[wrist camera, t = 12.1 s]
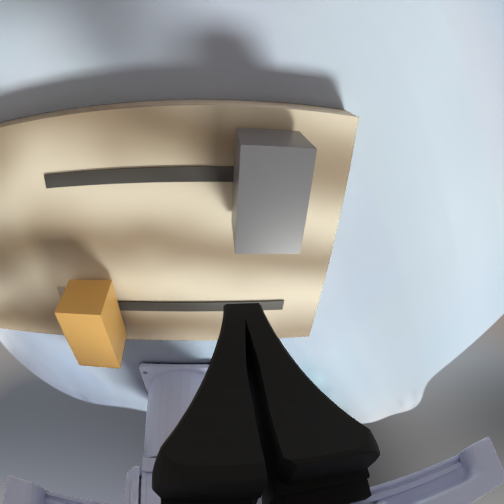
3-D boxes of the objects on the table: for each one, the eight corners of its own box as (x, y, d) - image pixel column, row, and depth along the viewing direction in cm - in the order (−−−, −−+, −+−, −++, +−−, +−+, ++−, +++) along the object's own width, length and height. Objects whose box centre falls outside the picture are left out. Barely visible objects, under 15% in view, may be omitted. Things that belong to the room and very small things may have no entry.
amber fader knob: (126, 334, 21) (120, 368, 19) (89, 332, 21) (79, 365, 18) (112, 280, 18) (100, 315, 16) (69, 279, 18) (54, 312, 16)
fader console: (303, 317, 25) (309, 337, 24) (7, 312, 22) (-1, 328, 20) (344, 109, 16) (359, 117, 15) (-51, 137, 13) (-69, 147, 11)
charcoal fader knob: (287, 221, 17) (300, 253, 15) (231, 221, 17) (234, 254, 15) (299, 130, 15) (317, 149, 12) (235, 127, 14) (240, 144, 12)
